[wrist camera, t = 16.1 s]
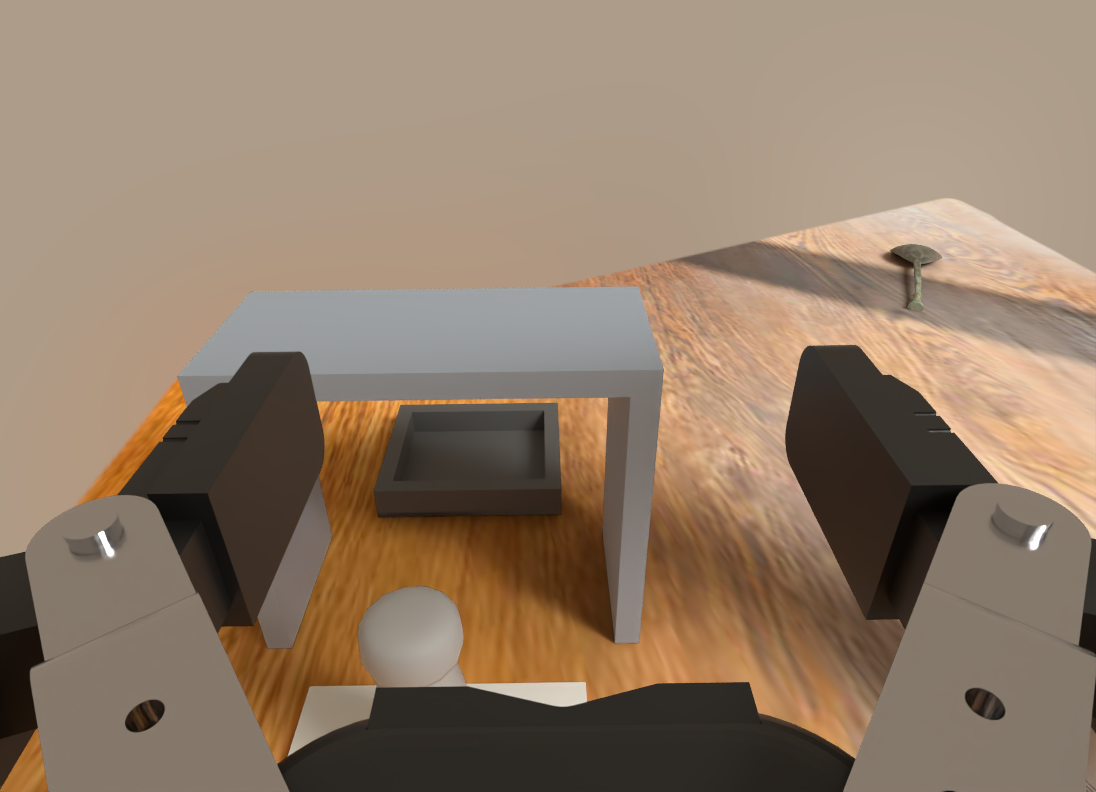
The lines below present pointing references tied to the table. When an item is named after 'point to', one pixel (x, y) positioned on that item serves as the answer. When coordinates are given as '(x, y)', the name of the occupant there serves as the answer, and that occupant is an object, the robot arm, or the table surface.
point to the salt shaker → (412, 639)
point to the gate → (462, 393)
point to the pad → (354, 703)
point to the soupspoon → (916, 267)
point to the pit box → (472, 461)
